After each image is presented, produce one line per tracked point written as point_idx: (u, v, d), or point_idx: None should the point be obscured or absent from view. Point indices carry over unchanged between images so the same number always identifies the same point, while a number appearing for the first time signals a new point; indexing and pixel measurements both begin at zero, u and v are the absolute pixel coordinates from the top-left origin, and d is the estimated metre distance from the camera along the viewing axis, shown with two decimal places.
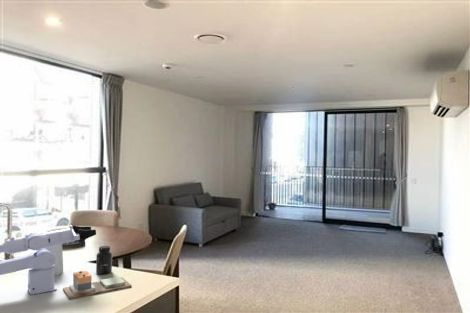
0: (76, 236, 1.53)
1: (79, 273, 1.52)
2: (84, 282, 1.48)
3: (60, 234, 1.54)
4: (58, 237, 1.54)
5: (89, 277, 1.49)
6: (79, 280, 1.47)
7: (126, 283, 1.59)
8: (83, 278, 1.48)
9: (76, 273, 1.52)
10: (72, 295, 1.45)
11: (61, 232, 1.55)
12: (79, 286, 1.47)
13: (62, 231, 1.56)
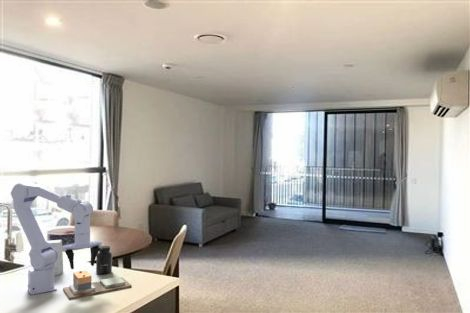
0: (63, 248, 1.46)
1: (79, 273, 1.52)
2: (84, 282, 1.48)
3: (77, 234, 1.48)
4: (79, 232, 1.48)
5: (89, 277, 1.49)
6: (79, 280, 1.47)
7: (126, 283, 1.59)
8: (83, 278, 1.48)
9: (76, 273, 1.52)
10: (72, 295, 1.45)
11: (78, 236, 1.48)
12: (79, 286, 1.47)
13: (79, 237, 1.48)
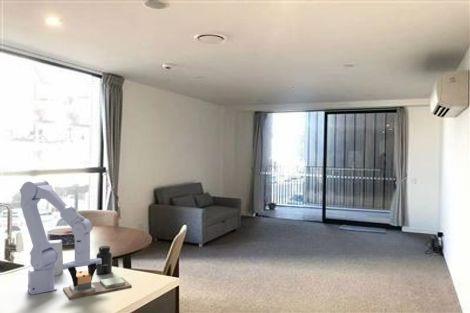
0: (63, 266, 1.47)
1: (79, 273, 1.52)
2: (84, 282, 1.48)
3: (76, 252, 1.48)
4: (79, 250, 1.48)
5: (89, 277, 1.49)
6: (79, 280, 1.47)
7: (126, 283, 1.59)
8: (83, 278, 1.48)
9: None
10: (72, 295, 1.45)
11: (78, 253, 1.48)
12: (79, 286, 1.47)
13: (79, 255, 1.48)
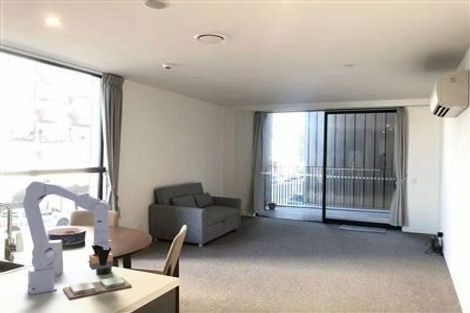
0: (107, 246, 1.50)
1: (98, 255, 1.54)
2: None
3: (106, 231, 1.54)
4: (100, 230, 1.52)
5: None
6: None
7: (126, 283, 1.59)
8: None
9: (96, 256, 1.53)
10: (72, 295, 1.45)
11: (107, 232, 1.55)
12: None
13: (108, 233, 1.55)
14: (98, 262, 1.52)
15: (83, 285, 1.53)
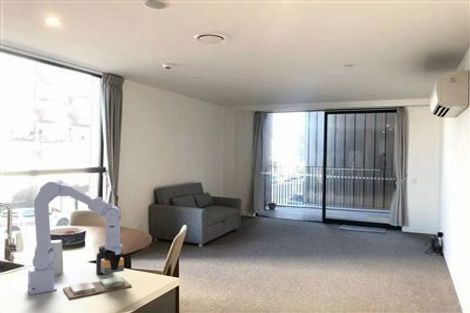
0: (119, 251, 1.52)
1: (109, 260, 1.57)
2: None
3: (118, 236, 1.57)
4: (113, 235, 1.55)
5: None
6: None
7: (126, 283, 1.59)
8: None
9: (108, 260, 1.55)
10: (72, 295, 1.45)
11: (119, 237, 1.58)
12: None
13: (119, 238, 1.58)
14: (110, 266, 1.55)
15: (83, 285, 1.53)
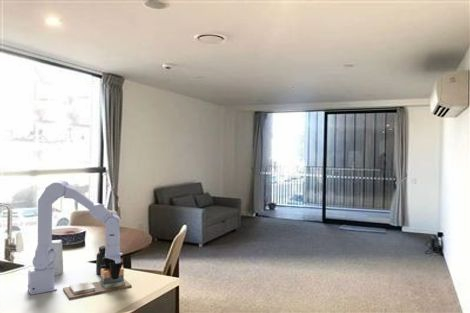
0: (119, 260, 1.52)
1: (109, 270, 1.57)
2: None
3: (118, 244, 1.57)
4: (113, 243, 1.55)
5: None
6: None
7: (126, 283, 1.59)
8: None
9: (108, 271, 1.55)
10: (72, 295, 1.45)
11: (119, 245, 1.58)
12: None
13: (119, 246, 1.58)
14: (109, 277, 1.55)
15: (83, 285, 1.53)
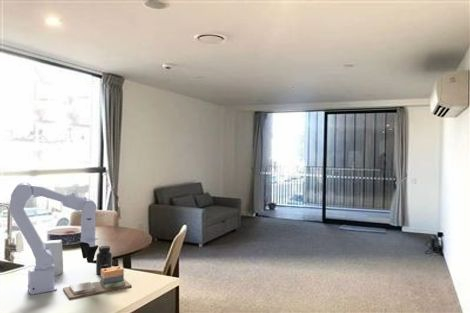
0: (93, 243, 1.55)
1: (109, 270, 1.57)
2: None
3: (93, 229, 1.59)
4: (90, 227, 1.58)
5: None
6: None
7: (126, 283, 1.59)
8: None
9: (108, 271, 1.55)
10: (72, 295, 1.45)
11: (94, 229, 1.60)
12: None
13: (94, 230, 1.61)
14: (109, 277, 1.55)
15: (83, 285, 1.53)
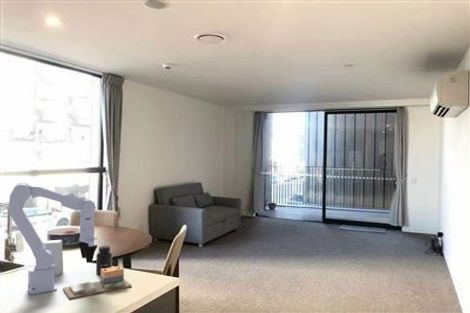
0: (93, 243, 1.55)
1: (109, 270, 1.57)
2: None
3: (92, 228, 1.60)
4: (89, 227, 1.58)
5: None
6: None
7: (126, 283, 1.59)
8: None
9: (108, 271, 1.55)
10: (72, 295, 1.45)
11: (93, 229, 1.60)
12: None
13: (93, 230, 1.61)
14: (109, 277, 1.55)
15: (83, 285, 1.53)
